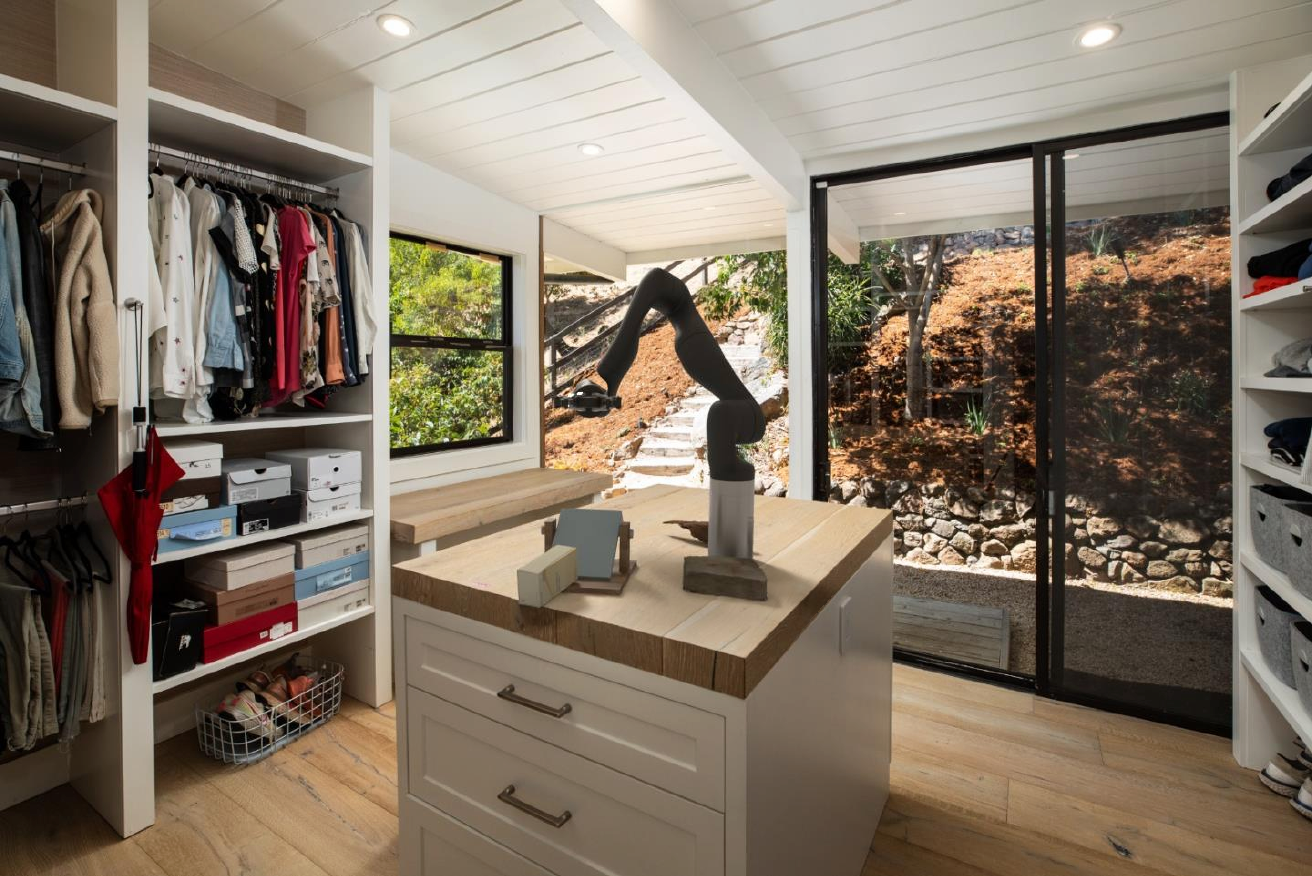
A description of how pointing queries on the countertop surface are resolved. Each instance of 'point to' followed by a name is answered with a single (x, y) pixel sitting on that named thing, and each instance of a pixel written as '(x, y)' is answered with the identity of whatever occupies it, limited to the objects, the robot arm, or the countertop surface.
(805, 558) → the countertop surface
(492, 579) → the countertop surface
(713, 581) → the grey brown flat block
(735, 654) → the countertop surface
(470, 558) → the countertop surface
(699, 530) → the bird sculpture
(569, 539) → the trapdoor flap
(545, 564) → the skincare box
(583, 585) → the frame
